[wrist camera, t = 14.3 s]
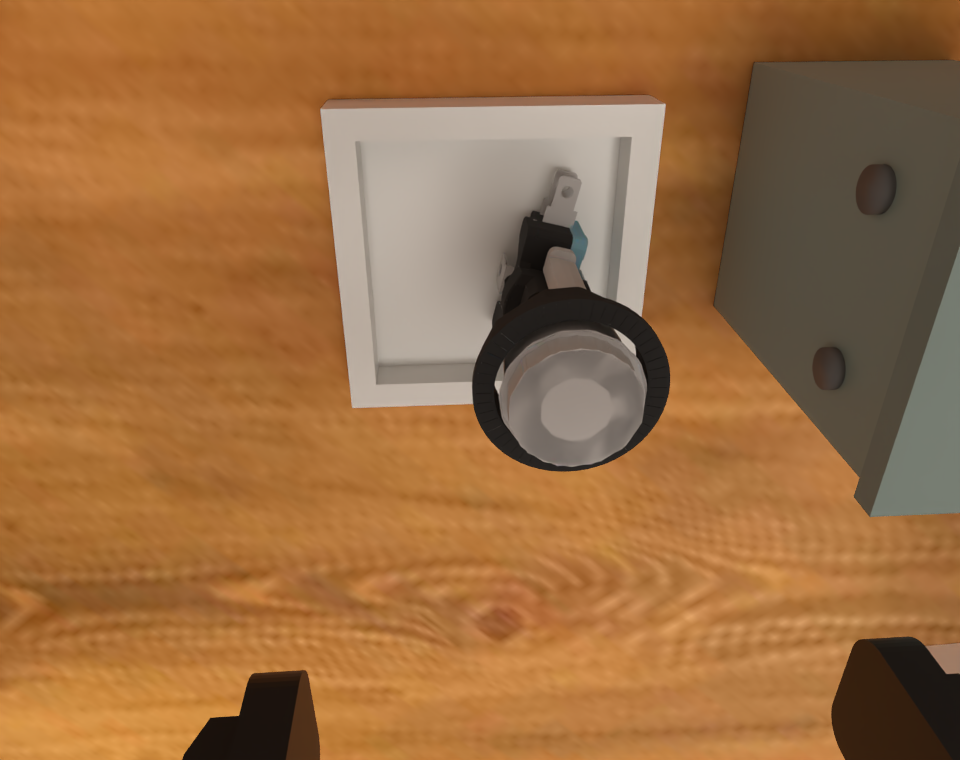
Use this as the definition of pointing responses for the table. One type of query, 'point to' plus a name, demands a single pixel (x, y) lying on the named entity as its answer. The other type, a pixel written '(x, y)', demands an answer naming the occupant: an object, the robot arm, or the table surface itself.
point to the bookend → (947, 656)
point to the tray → (472, 221)
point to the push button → (564, 353)
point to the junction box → (856, 264)
